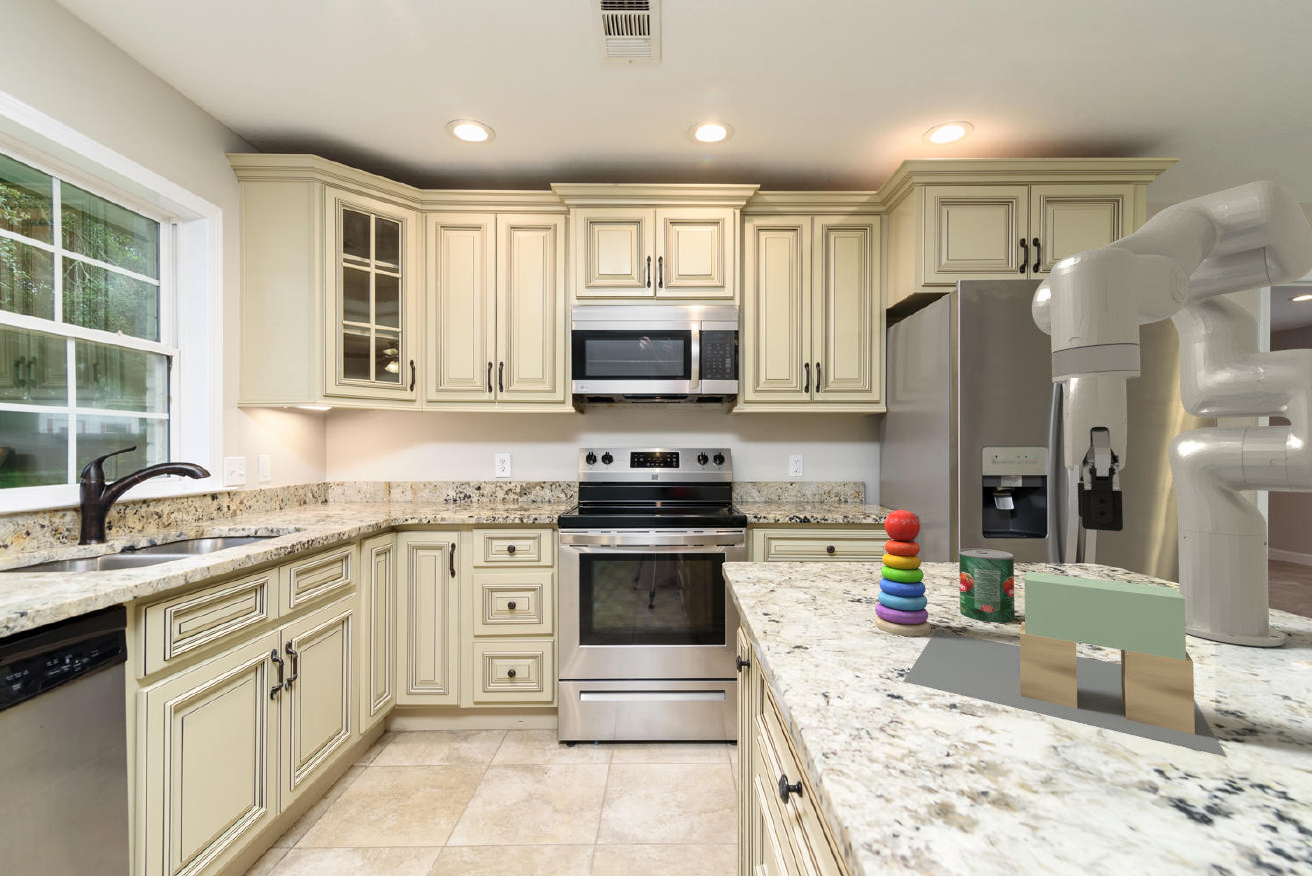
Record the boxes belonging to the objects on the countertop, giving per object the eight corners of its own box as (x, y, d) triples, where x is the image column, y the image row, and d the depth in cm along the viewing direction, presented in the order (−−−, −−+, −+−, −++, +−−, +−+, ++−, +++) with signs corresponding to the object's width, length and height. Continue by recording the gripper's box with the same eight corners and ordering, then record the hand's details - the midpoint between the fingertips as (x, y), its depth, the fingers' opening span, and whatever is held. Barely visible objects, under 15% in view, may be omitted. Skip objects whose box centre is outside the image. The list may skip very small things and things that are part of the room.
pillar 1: (1022, 680, 65) (1021, 621, 65) (1075, 691, 62) (1074, 629, 62) (1020, 696, 61) (1019, 633, 61) (1077, 708, 58) (1076, 642, 58)
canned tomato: (1026, 627, 87) (1025, 557, 87) (976, 626, 87) (975, 557, 87) (995, 612, 95) (995, 548, 95) (950, 611, 95) (949, 548, 95)
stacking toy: (937, 642, 80) (936, 513, 80) (879, 638, 81) (878, 512, 82) (922, 625, 88) (921, 508, 88) (870, 621, 89) (869, 507, 90)
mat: (935, 635, 83) (935, 631, 83) (1180, 679, 67) (1179, 674, 67) (903, 686, 65) (903, 681, 65) (1226, 763, 49) (1226, 756, 49)
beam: (1027, 622, 65) (1026, 571, 65) (1176, 645, 57) (1175, 588, 57) (1025, 633, 61) (1024, 579, 61) (1186, 660, 53) (1184, 598, 53)
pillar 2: (1121, 701, 60) (1120, 637, 60) (1184, 714, 57) (1183, 646, 57) (1126, 719, 56) (1125, 650, 56) (1194, 734, 53) (1193, 661, 53)
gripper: (1052, 376, 69) (1055, 512, 69) (1052, 362, 55) (1056, 532, 55) (1130, 370, 64) (1134, 515, 64) (1152, 353, 50) (1157, 538, 50)
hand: (1098, 523), depth 60 cm, fingers open, 9 cm apart
